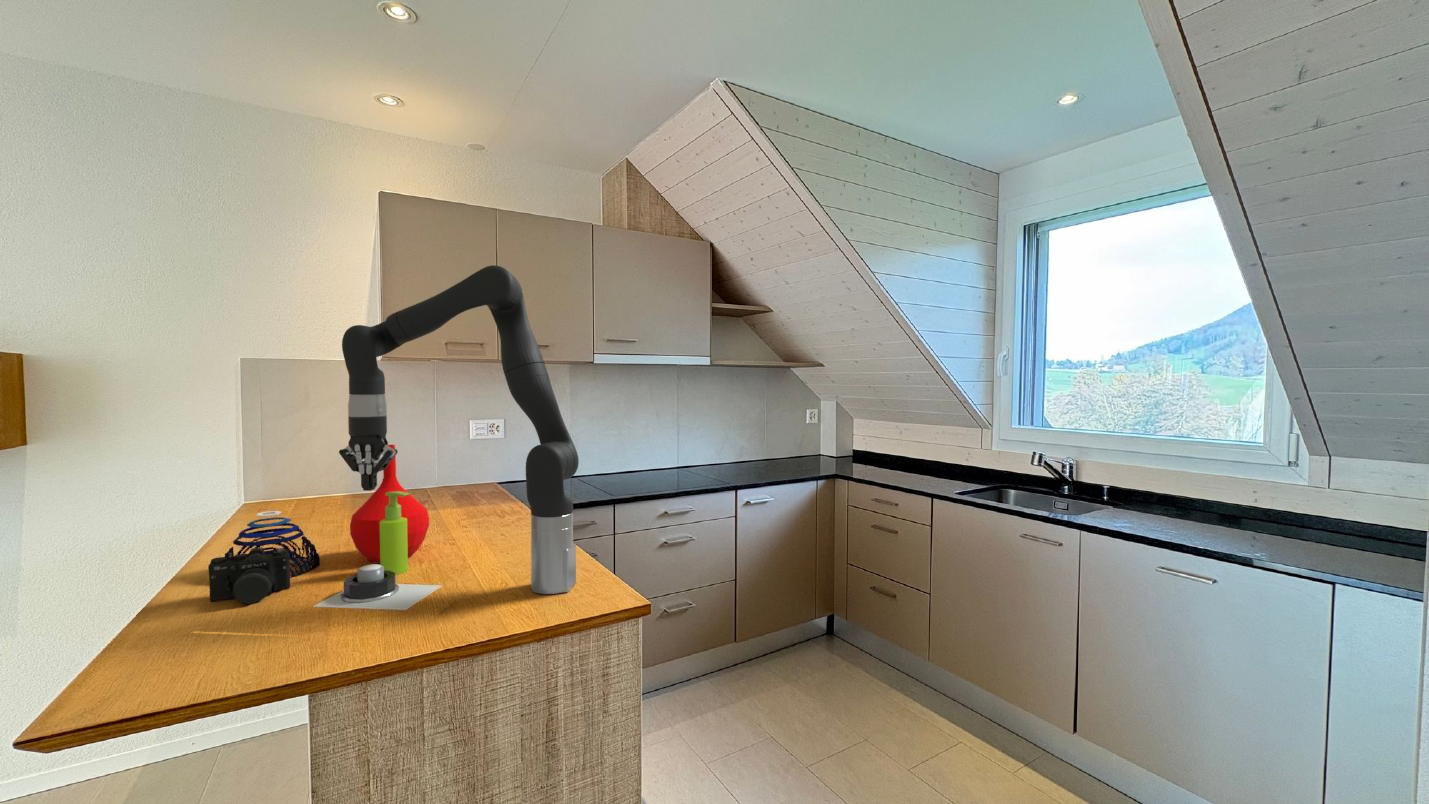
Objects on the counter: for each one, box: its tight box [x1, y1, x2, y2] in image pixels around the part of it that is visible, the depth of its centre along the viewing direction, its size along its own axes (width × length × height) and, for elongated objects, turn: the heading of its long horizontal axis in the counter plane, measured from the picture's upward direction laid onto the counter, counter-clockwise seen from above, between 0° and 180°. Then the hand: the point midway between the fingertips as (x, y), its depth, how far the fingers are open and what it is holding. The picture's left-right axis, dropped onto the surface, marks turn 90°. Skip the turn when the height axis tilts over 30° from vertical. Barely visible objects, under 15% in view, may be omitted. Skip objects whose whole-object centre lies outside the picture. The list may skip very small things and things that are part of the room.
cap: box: [356, 563, 384, 583], centre depth 128 cm, size 5×5×5 cm
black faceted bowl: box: [341, 570, 399, 603], centre depth 128 cm, size 11×11×4 cm
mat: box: [312, 583, 443, 611], centre depth 127 cm, size 20×14×1 cm
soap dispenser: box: [379, 491, 411, 576], centre depth 142 cm, size 6×7×20 cm
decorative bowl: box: [224, 510, 321, 579], centre depth 144 cm, size 20×20×14 cm
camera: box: [208, 546, 291, 605], centre depth 126 cm, size 14×11×10 cm
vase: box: [349, 444, 430, 563], centre depth 155 cm, size 18×18×30 cm
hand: (369, 489), depth 134 cm, fingers closed
